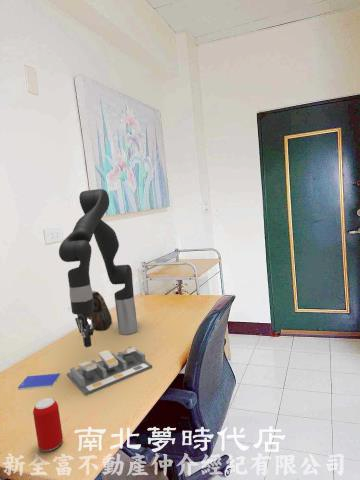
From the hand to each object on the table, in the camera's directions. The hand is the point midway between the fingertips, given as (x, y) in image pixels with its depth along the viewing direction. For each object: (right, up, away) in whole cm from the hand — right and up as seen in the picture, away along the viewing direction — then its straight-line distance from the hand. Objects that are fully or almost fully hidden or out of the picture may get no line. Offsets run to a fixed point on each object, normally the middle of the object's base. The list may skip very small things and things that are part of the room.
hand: (87, 346), depth 121 cm
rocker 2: (+12, -7, +13) cm, 19 cm away
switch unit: (+6, -12, +9) cm, 16 cm away
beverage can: (-2, -17, -29) cm, 34 cm away
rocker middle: (+5, -8, +8) cm, 13 cm away
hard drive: (-19, -16, +6) cm, 26 cm away
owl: (-9, -9, +61) cm, 62 cm away
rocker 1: (-1, -9, +4) cm, 10 cm away
